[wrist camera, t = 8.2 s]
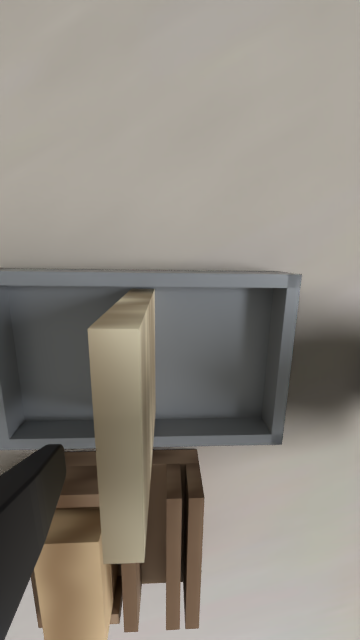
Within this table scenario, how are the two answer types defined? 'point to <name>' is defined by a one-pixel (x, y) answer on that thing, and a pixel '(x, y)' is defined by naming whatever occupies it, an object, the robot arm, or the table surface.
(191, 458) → the walnut rack
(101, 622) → the upper oak offcut
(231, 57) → the table surface
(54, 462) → the robot arm
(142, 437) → the birch sheet
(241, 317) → the gray tray
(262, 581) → the table surface
